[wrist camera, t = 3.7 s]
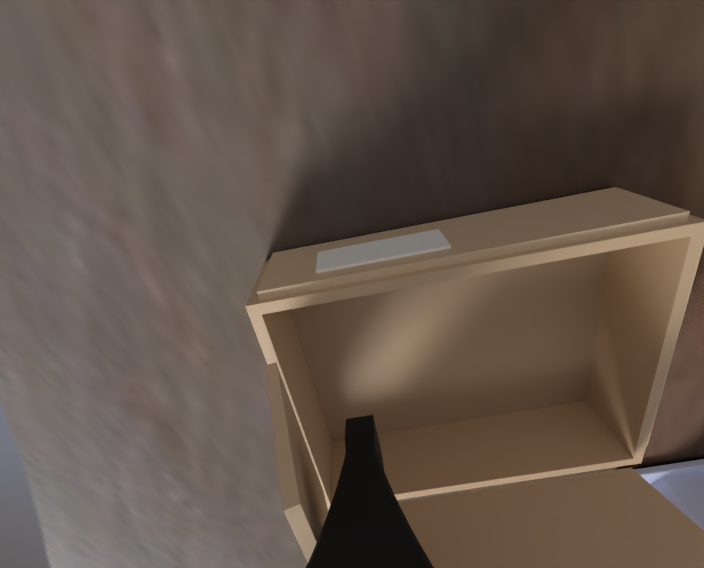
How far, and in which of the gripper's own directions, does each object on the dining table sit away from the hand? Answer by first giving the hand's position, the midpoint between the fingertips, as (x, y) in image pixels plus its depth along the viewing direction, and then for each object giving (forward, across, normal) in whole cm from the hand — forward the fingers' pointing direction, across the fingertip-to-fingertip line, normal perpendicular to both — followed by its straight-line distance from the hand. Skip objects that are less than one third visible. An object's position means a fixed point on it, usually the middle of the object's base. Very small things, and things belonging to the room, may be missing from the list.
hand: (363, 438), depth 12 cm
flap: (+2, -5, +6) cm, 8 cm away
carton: (+6, -4, +1) cm, 7 cm away
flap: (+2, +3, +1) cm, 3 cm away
